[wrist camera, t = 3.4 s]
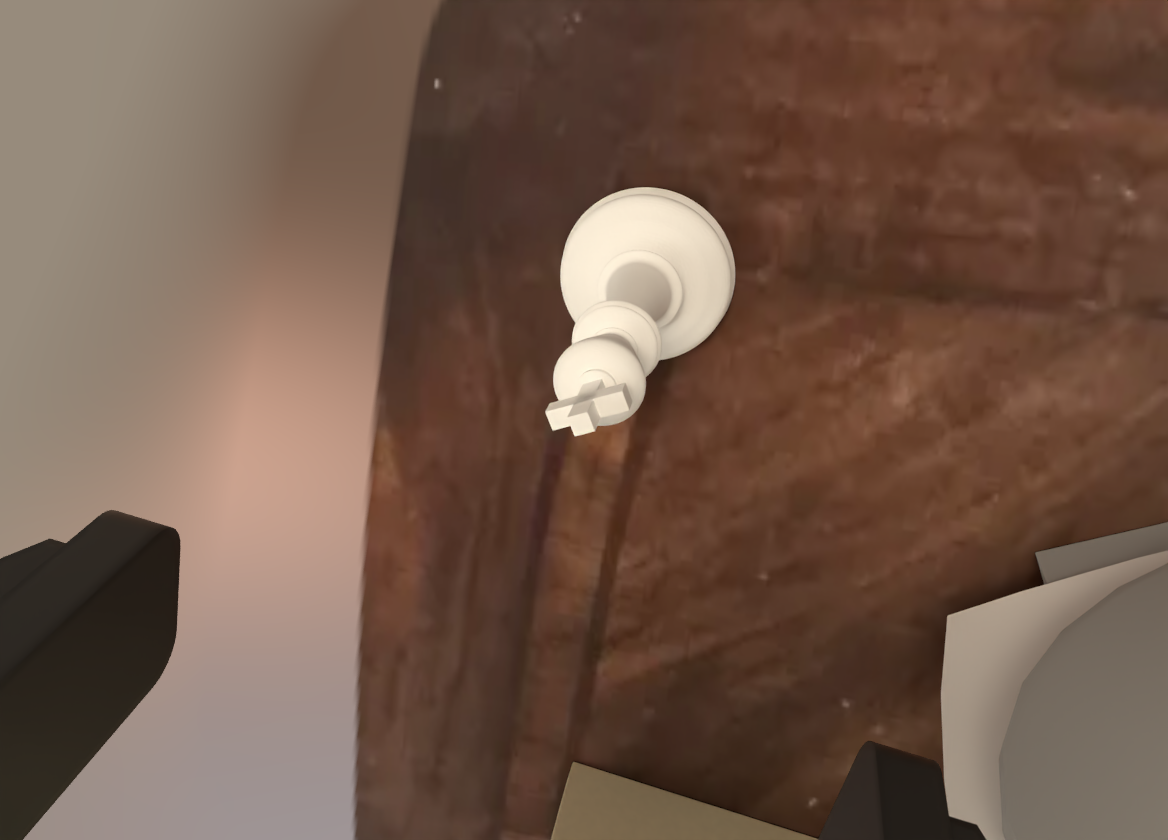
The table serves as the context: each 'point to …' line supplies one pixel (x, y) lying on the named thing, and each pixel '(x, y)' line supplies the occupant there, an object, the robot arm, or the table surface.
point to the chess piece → (635, 299)
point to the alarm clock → (1064, 698)
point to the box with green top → (648, 813)
